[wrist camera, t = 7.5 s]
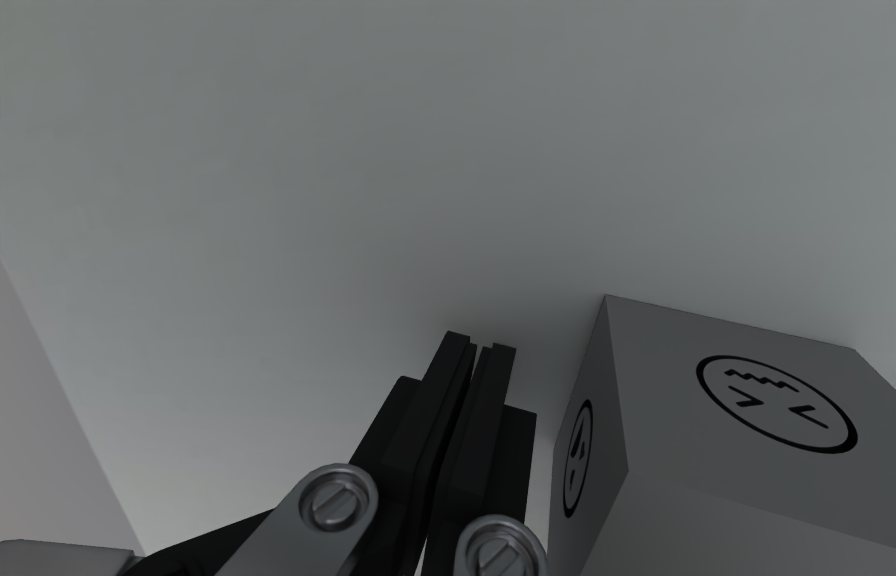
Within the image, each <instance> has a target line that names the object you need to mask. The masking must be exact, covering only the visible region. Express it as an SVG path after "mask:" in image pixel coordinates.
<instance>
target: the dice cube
mask: <svg viewBox="0 0 896 576" xmlns="http://www.w3.org/2000/svg"><path fill="white" fill-rule="evenodd" d="M547 561H548V565H549V572H550V576H896V390H895V389H894V388H893V387H892V386H891V385H890V384H889V383H888V382H887V381H886V380H885V379H884V378H883V377H882V376H881V375H880V374H879V373H878V372H877V371H876V370H875V369H874V368H873V367H872V366H871V365H870V364H869V363H868V362H867V361H866V360H865V359H864V358H863V357H862V356H861V355H860V354H859V353H857V352H856V351H855V350H854V349H849V348H845V347H840V346H836V345H831V344H827V343H822V342H818V341H813V340H809V339H804V338H800V337H795V336H791V335H786V334H782V333H777V332H773V331H768V330H764V329H759V328H755V327H750V326H746V325H741V324H736V323H732V322H727V321H723V320H718V319H714V318H709V317H705V316H700V315H696V314H691V313H687V312H682V311H678V310H673V309H669V308H664V307H660V306H655V305H651V304H646V303H642V302H637V301H633V300H628V299H624V298H619V297H615V296H610V295H606V294H605V297H604V300H603V303H602V306H601V309H600V312H599V315H598V318H597V321H596V324H595V327H594V330H593V333H592V336H591V339H590V342H589V345H588V348H587V351H586V354H585V357H584V360H583V363H582V366H581V369H580V372H579V375H578V378H577V381H576V384H575V387H574V390H573V393H572V396H571V399H570V402H569V405H568V408H567V411H566V414H565V417H564V420H563V423H562V426H561V429H560V431H559V434H558V437H557V440H556V443H555V446H554V451H553V467H552V483H551V500H550V516H549V532H548V548H547Z"/></svg>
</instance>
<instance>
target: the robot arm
mask: <svg viewBox="0 0 896 576" xmlns="http://www.w3.org/2000/svg"><path fill="white" fill-rule="evenodd" d="M476 351H477V344H473V343H470V336H467V335H463V334H459V333H455V332H451V331H447V333H446V334H445V336H444V338H443V340H442V342H441V344H440V346H439V348H438V350H437V352H436V354H435V356H434V358H433V360H432V362H431V364H430V366H429V368H428V370H427V372H426V374H425V375H424V377H423V379H422V381H420V380H417V379H413V378H410V377H406V376H403V375H402V376H401V377H400V378H399V379H398V380H397V382H396V383H395V385H394V387H393V389H392V390H391V392H390V394H389V395H388V397H387V399H386V400H385V402H384V404H383V405H382V407H381V409H380V410H379V412H378V414H377V415H376V417H375V419H374V421H373V422H372V424H371V426H370V427H369V429H368V431H367V432H366V434H365V436H364V437H363V439H362V441H361V442H360V444H359V446H358V448H357V449H356V451H355V453H354V454H353V456H352V458H351V459H350V461H349V463H348V464H341V463H334V464H330V465H325V466H322V467H320V468H318V469H316V470H313V471H311V472H310V473H309V474H307V475H306V476H305V477H304V478H303V479H302V480H300V481H299V482H298V484H297V485H296V486H295V487H294V488H293V489H292V490H291V491H290V492H289V493H288V495H287V496H286V497H285V498H284V499H283V500H282V501H281V502H280V503H279V505H278V506H277V507H276V508H274V509H271V510H268V511H266V512H263V513H260V514H257V515H255V516H252V517H249V518H247V519H244V520H241V521H238V522H236V523H233V524H230V525H228V526H225V527H222V528H219V529H217V530H214V531H211V532H209V533H206V534H203V535H200V536H198V537H195V538H192V539H190V540H187V541H184V542H181V543H179V544H176V545H173V546H171V547H168V548H165V549H162V550H160V551H158V552H156V553H153V554H151V555H149V556H147V557H139V556H135V554H134V551H133V550H127V549H117V548H107V547H96V546H85V545H75V544H65V543H55V542H43V541H34V540H24V539H19V540H5V541H1V542H0V576H403V575H404V576H414V574H415V571H416V568H417V565H418V562H419V559H420V556H421V553H422V550H423V547H424V544H425V541H426V538H427V542H426V548H425V554H424V560H423V565H422V571H421V576H550V572H549V565H548V561H547V556H546V552H545V550H544V548H543V547H542V545H541V543H540V541H539V539H538V538H537V537H536V536H535V534H534V533H533V532H532V531H531V530H530V529H529V528H528V527H527V526H525V525H524V521H525V512H526V504H527V495H528V487H529V479H530V470H531V462H532V453H533V445H534V436H535V428H536V418H537V414H536V413H533V412H529V411H526V410H522V409H519V408H515V407H512V406H508V405H505V404H504V402H505V397H506V393H507V388H508V384H509V379H510V375H511V370H512V366H513V361H514V357H515V352H516V348H513V347H509V346H505V345H501V344H497V343H493V346H492V348H488V347H484V346H483V348H482V351H481V354H480V357H479V360H478V363H477V366H476V368H475V371H474V374H473V377H472V372H473V367H474V362H475V356H476ZM471 377H472V380H471ZM470 382H471V383H470ZM427 535H428V536H427Z"/></svg>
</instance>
